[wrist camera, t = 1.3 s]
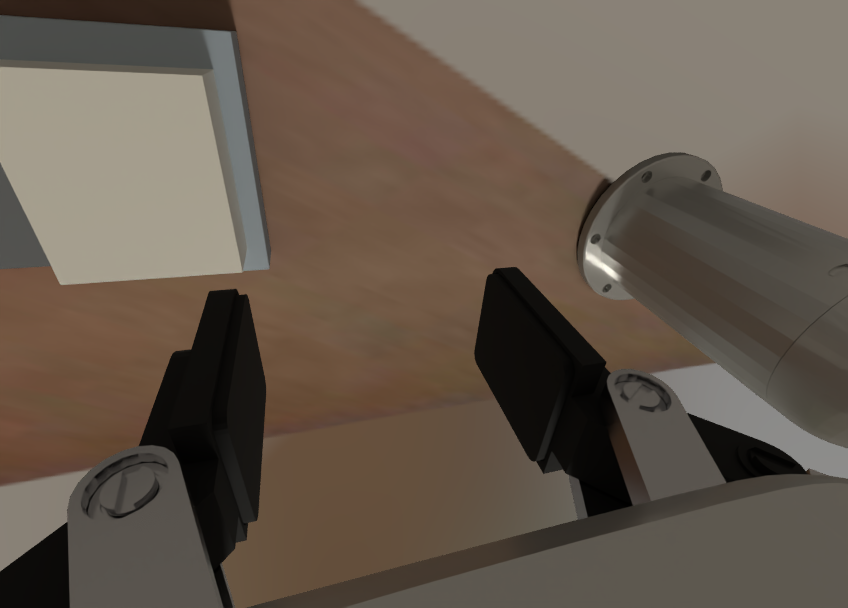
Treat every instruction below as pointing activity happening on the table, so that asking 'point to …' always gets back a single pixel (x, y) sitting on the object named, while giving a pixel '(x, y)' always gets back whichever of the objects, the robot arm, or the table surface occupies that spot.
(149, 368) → the table surface
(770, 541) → the robot arm
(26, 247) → the mat
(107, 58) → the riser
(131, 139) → the tile
